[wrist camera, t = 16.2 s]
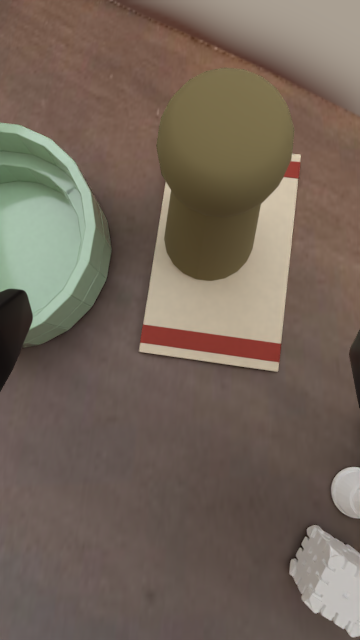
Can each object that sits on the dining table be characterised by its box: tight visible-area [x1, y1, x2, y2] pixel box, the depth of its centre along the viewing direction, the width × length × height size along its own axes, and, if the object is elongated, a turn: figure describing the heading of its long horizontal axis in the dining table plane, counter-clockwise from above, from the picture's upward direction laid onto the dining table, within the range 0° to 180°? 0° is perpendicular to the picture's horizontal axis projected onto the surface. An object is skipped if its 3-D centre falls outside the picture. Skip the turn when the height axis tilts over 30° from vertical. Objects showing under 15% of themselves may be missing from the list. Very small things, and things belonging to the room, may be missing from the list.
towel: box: [139, 154, 301, 372], centre depth 22 cm, size 9×15×1 cm, turn 172°
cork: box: [156, 68, 294, 281], centre depth 16 cm, size 6×6×11 cm
